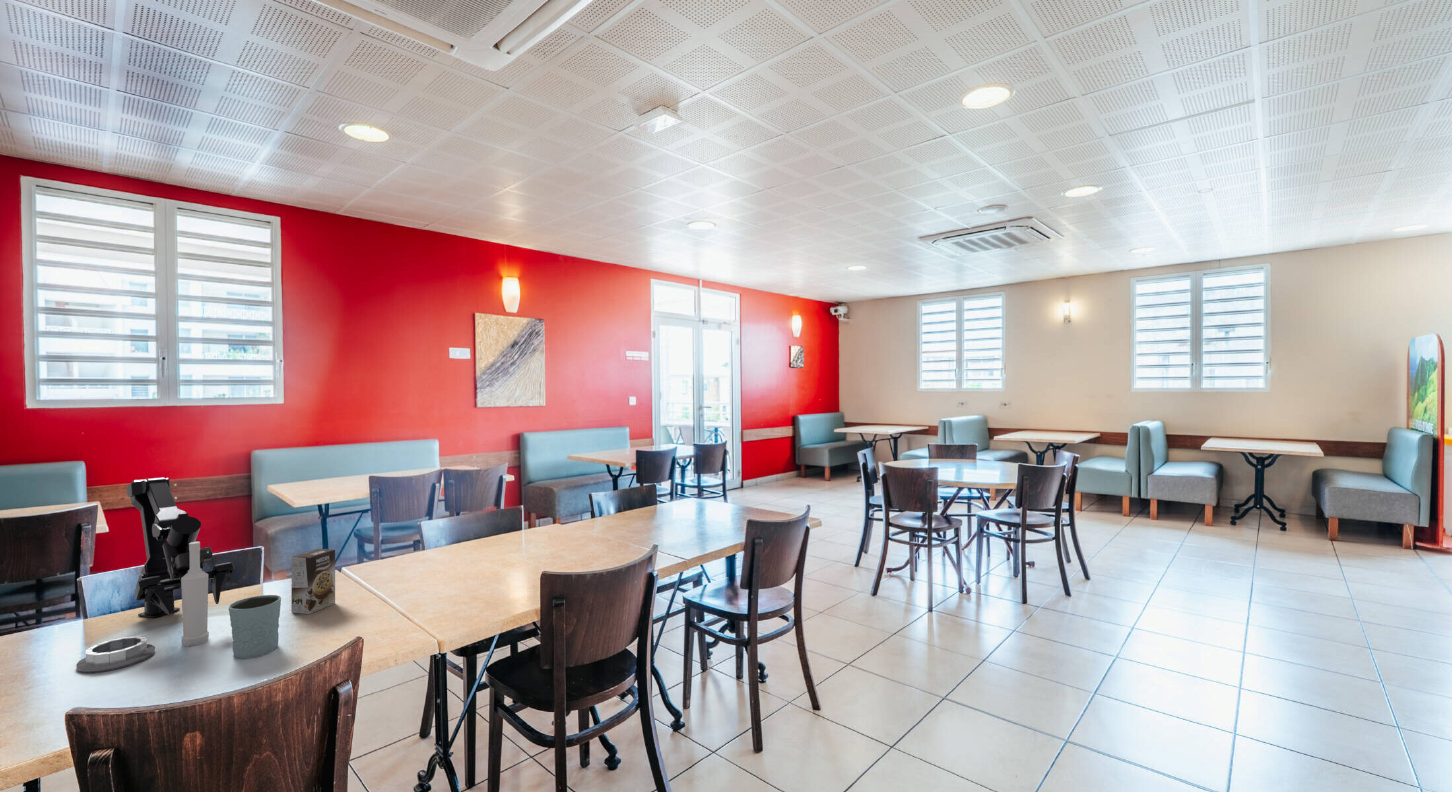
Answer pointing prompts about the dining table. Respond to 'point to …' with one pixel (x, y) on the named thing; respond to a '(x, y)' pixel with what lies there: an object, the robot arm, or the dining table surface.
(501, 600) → the dining table surface
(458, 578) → the dining table surface
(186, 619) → the bottle
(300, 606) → the coffee box
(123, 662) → the grey ring
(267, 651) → the grey-green cup
